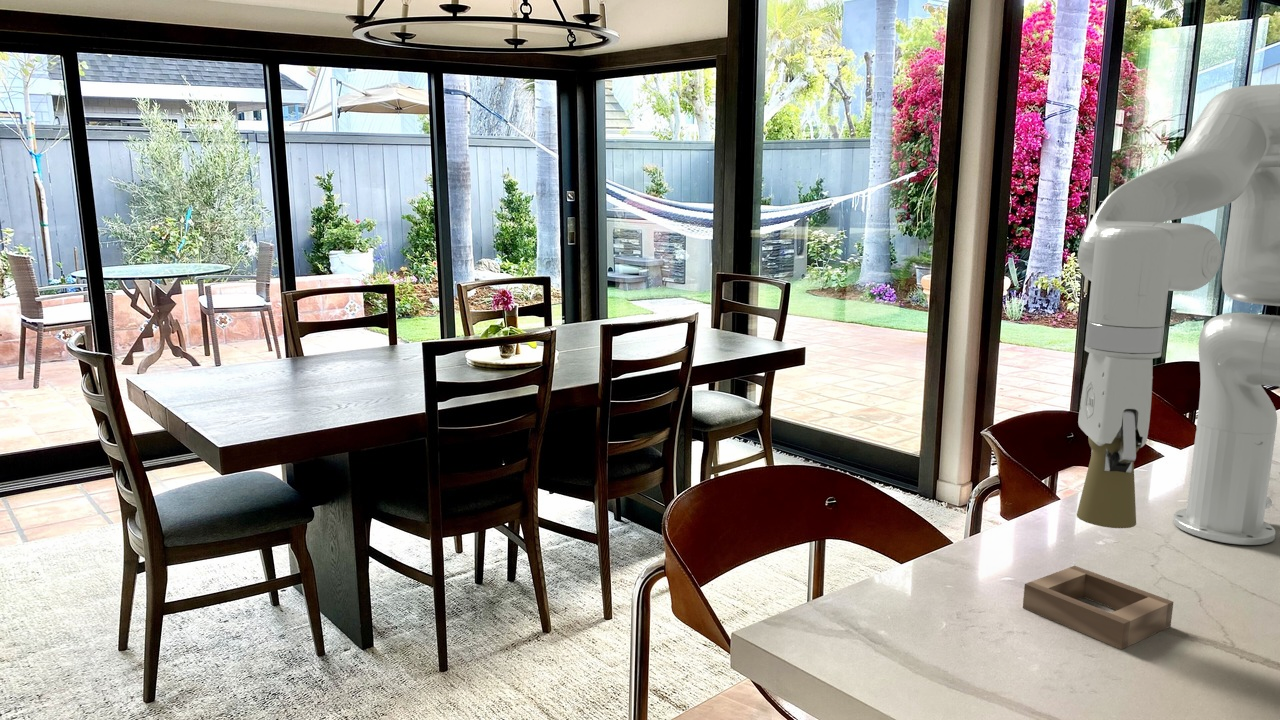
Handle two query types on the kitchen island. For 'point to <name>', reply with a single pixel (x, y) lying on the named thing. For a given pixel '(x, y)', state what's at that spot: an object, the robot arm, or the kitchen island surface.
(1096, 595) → the walnut holder
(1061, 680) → the kitchen island surface
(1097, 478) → the tan rounded tapered piece
